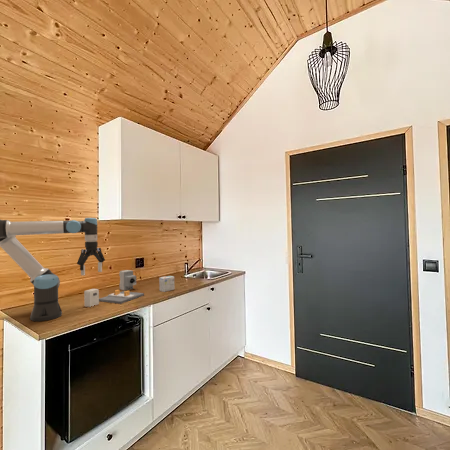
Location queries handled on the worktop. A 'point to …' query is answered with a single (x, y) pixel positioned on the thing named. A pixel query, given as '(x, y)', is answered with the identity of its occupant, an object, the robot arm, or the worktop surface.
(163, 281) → the light bulb box
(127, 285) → the circuit breaker
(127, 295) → the din rail board
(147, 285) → the worktop surface
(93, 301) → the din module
